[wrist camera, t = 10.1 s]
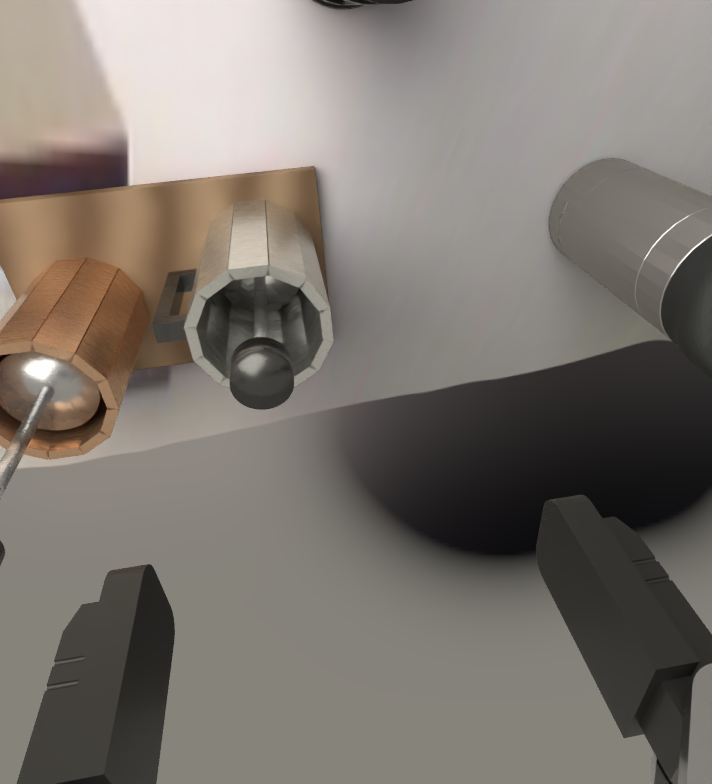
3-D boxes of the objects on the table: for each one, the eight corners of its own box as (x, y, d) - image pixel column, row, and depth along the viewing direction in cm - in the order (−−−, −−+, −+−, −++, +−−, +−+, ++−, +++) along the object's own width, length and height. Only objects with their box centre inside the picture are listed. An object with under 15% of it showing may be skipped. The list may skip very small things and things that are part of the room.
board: (313, 166, 45) (314, 169, 44) (331, 337, 54) (333, 343, 53) (-20, 201, 43) (-27, 206, 42) (58, 373, 52) (54, 380, 51)
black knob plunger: (82, 339, 36) (-15, 526, 23) (114, 417, 40) (46, 617, 27) (-23, 352, 36) (-182, 552, 23) (20, 431, 40) (-96, 641, 27)
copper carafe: (130, 251, 45) (88, 333, 34) (160, 349, 51) (133, 447, 40) (-20, 269, 44) (-113, 359, 33) (28, 366, 50) (-39, 472, 39)
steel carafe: (306, 194, 45) (324, 257, 34) (319, 298, 50) (338, 383, 39) (160, 210, 44) (127, 281, 33) (188, 315, 49) (168, 407, 38)
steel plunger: (295, 226, 43) (313, 324, 30) (305, 304, 47) (325, 420, 33) (209, 236, 42) (189, 340, 29) (226, 314, 46) (215, 437, 33)
